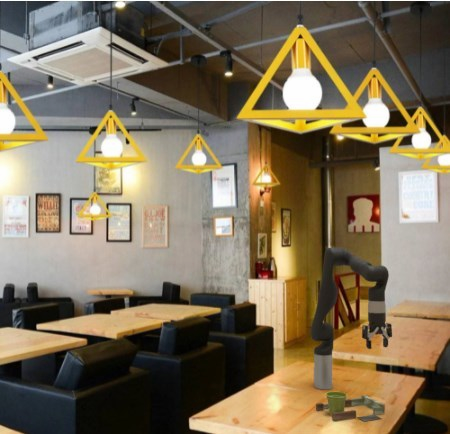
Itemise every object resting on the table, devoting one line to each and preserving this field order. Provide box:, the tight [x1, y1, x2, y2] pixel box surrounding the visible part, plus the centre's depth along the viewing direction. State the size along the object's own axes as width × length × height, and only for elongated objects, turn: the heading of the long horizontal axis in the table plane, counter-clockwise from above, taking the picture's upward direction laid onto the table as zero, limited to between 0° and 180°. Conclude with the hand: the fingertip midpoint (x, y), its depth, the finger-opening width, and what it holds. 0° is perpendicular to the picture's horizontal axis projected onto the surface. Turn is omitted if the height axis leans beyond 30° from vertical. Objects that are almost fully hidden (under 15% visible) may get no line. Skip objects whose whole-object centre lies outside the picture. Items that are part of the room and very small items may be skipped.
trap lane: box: [315, 394, 386, 423], centre depth 233 cm, size 25×26×4 cm
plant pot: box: [325, 390, 348, 416], centre depth 230 cm, size 9×9×9 cm
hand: (377, 347), depth 229 cm, fingers open, 8 cm apart
